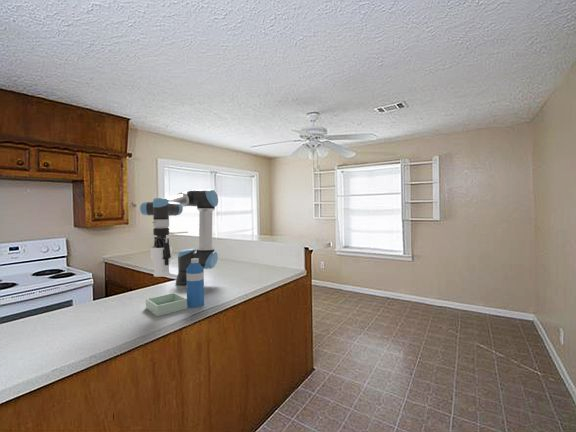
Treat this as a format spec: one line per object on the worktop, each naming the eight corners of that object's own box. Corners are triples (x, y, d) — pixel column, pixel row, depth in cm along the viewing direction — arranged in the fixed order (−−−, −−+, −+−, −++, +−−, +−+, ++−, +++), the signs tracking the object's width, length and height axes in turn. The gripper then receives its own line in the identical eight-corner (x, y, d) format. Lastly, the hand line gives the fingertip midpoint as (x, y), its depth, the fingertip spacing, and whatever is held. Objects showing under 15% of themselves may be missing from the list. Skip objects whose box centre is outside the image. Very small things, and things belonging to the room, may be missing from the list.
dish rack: (174, 301, 162) (174, 292, 162) (187, 308, 151) (186, 298, 151) (146, 308, 151) (145, 298, 151) (157, 316, 140) (157, 306, 140)
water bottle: (199, 300, 164) (198, 256, 163) (207, 304, 157) (207, 258, 156) (183, 304, 157) (182, 258, 156) (191, 308, 150) (190, 261, 149)
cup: (162, 278, 144) (161, 248, 144) (145, 276, 148) (145, 247, 148) (177, 273, 154) (176, 245, 154) (161, 272, 158) (161, 244, 158)
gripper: (146, 226, 156) (146, 267, 157) (162, 229, 140) (162, 274, 140) (160, 226, 161) (161, 265, 162) (177, 228, 145) (178, 272, 145)
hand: (161, 269), depth 151 cm, fingers closed on cup, 10 cm apart
